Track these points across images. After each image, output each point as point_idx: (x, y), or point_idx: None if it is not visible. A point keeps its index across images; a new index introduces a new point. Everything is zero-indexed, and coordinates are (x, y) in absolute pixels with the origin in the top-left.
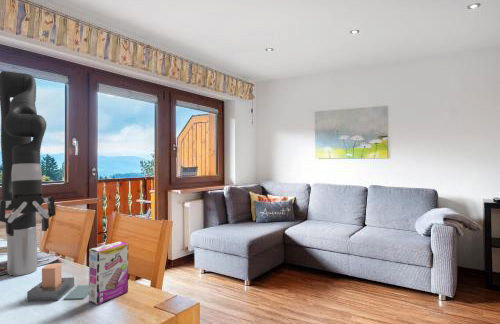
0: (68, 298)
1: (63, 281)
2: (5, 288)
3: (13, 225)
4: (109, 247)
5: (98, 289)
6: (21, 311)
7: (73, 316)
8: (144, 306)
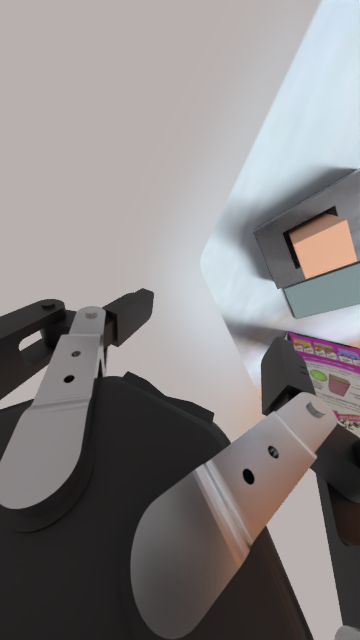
0: (287, 296)
1: None
2: (320, 9)
3: (125, 339)
4: None
5: None
6: (223, 261)
7: (240, 338)
8: None
